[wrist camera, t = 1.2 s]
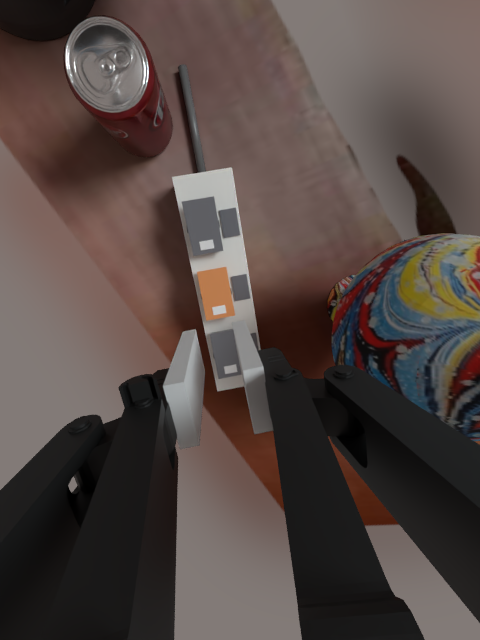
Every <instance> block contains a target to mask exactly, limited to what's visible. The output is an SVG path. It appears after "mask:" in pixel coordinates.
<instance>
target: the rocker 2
mask: <svg viewBox="0 0 480 640" xmlns="http://www.w3.org/2000/svg"><path fill="white" fill-rule="evenodd" d="M210 338H211V343H212V348H213V357H214V359H215V364H216V369H217V374H218V379H222V378H227V377H232V376H237V375H242V373H241V368H240V363H239V358H238V352H237V347H236V342H235V336H234V331H233V329H228V330H223V331H218V332H212V333H210Z"/></svg>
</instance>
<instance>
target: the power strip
mask: <svg viewBox="0 0 480 640" xmlns="http://www.w3.org/2000/svg"><path fill="white" fill-rule="evenodd" d="M178 69H179V75H180V80H181V85H182V91H183V96H184V101H185V107H186V112H187V117H188V122H189V128H190V133H191V138H192V144H193V149H194V154H195V159H196V165H197V170H198V173H194V174H188V175H182V176H176V177H172V180H173V184H174V189H175V194H176V198H177V203H178V208H179V213H180V217H181V222H182V227H183V231H184V236H185V241H186V246H187V250H188V255H189V260H190V264H191V269H192V274H193V278H194V283H195V288H196V293H197V297H198V302H199V307H200V311H201V316H202V321H203V326H204V330H205V335H206V340H207V344H208V349H209V354H210V359H211V363H212V368H213V373H214V377H215V382H216V387H217V392H218V391H223V390H228V389H233V388H238V387H243V386H244V383H243V378H242V375H237V376H232V377H227V378H222V379H218V374H217V369H216V364H215V359H214V357H213V348H212V343H211V338H210V333H212V332H218V331H223V330H228V329H233V325H232V322H237V321H242V320H245V322H246V324H247V327H248V329H249V332H250V334H251V337H252V339H253V342H254V344H255V347H256V349H257V351H258V350H261V348H260V342H259V336H258V329H257V323H256V317H255V310H254V304H253V298H252V292H251V285H250V279H249V273H248V266H247V260H246V254H245V247H244V241H243V235H242V229H241V222H240V216H239V210H238V203H237V197H236V191H235V184H234V178H233V172H232V167H231V168H225V169H219V170H213V171H207V172H206V170H205V164H204V159H203V153H202V148H201V142H200V137H199V131H198V126H197V120H196V115H195V109H194V104H193V98H192V93H191V87H190V82H189V76H188V71H187V66H186V65H180V66H179V67H178ZM212 196H214V199H215V205H216V211H217V217H218V220H219V223H220V234H221V240H222V245H223V251H220V252H214V253H208V254H202V255H197V256H193V252H192V247H191V242H190V238H189V233H188V232H187V227H186V226H187V224H186V220H185V215H184V211H183V206H182V201H188V200H194V199H200V198H206V197H212ZM222 267H226V268H227V273H228V279H229V284H230V288H231V291H232V294H231V295H232V301H233V306H234V311H235V316H229V317H224V318H219V319H213V320H208V321H206V317H205V311H204V306H203V301H202V299H201V291H200V286H199V281H198V276H197V272H199V271H205V270H210V269H216V268H222Z"/></svg>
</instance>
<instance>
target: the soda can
mask: <svg viewBox="0 0 480 640" xmlns="http://www.w3.org/2000/svg"><path fill="white" fill-rule="evenodd" d="M64 69H65V74H66V78H67V81H68V83H69V86H70V88H71V90H72V92H73V94H74V95H75V97H76V98H77V99H78V101H79V102H80V103H81V104H82V105H83V106H84V107H85V109H86V110H87V111H88V112H89V113H90V114H91V115H92V116H93V117H94V118H95V119H96V120H97V121H98V122H99V123H100V124H101V125H102V126H103V128H104V129H105V130H106V131H107V132H108V133H109V134H110V135H111V136H112V137H113V138H114V139H115V140H116V141H117V142H118V143H119V144H120V146H121V147H122V148H124V149H125V150H126V151H127V152H129V153H131V154H133V155H135V156H138V157H152V156H155V155H157V154H159V153H161V152H162V151H163V150H164V149H165V148H166V147H167V145H168V144H169V141H170V139H171V136H172V130H173V123H172V117H171V114H170V111H169V108H168V105H167V102H166V99H165V96H164V93H163V90H162V87H161V84H160V81H159V78H158V75H157V72H156V69H155V66H154V63H153V60H152V57H151V54H150V52H149V50H148V48H147V46H146V44H145V42H144V41H143V39H142V38H141V37H140V35H139V34H138V33H137V32H136V31H135V30H134V29H133V28H132V27H130V26H129V25H127V24H126V23H125V22H123V21H121V20H119V19H116V18H114V17H110V16H105V15H102V16H93V17H90V18H86V19H85V20H83V21H81V22H80V23H79V24H78V25H77V26H76V27H75V28H74V29H73V30H72V31H71V33H70V35H69V36H68V39H67V42H66V44H65V49H64Z"/></svg>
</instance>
